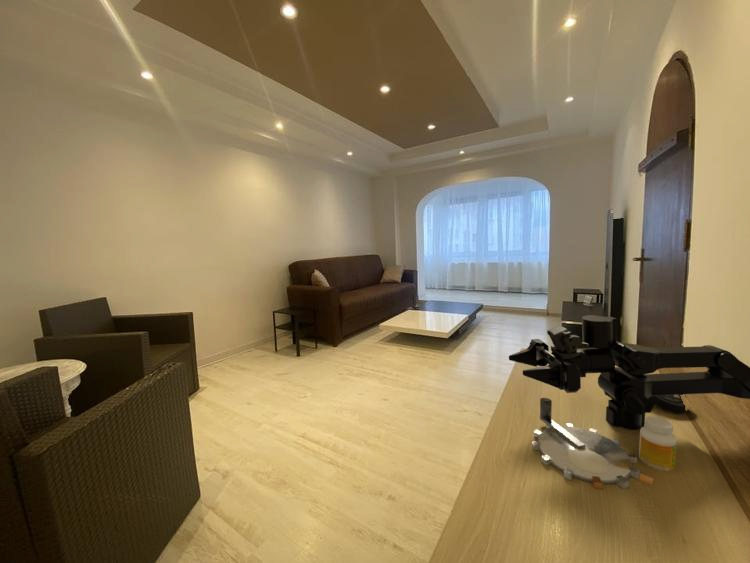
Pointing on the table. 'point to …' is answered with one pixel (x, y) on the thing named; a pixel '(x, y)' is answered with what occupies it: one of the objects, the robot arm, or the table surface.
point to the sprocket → (583, 452)
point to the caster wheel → (669, 403)
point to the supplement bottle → (658, 444)
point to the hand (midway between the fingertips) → (515, 364)
